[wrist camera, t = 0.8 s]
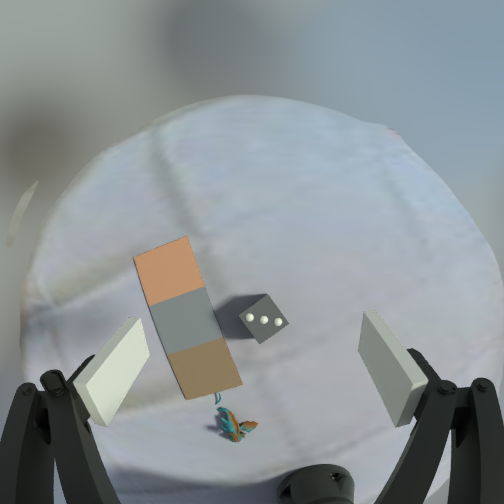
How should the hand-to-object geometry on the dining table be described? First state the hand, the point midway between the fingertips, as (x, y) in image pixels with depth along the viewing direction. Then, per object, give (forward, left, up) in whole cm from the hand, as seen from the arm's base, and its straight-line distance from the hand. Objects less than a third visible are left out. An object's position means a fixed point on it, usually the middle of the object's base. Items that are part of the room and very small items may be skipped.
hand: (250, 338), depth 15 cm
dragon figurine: (-17, +11, -28) cm, 35 cm away
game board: (+1, +11, -27) cm, 30 cm away
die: (-2, -1, -28) cm, 28 cm away
